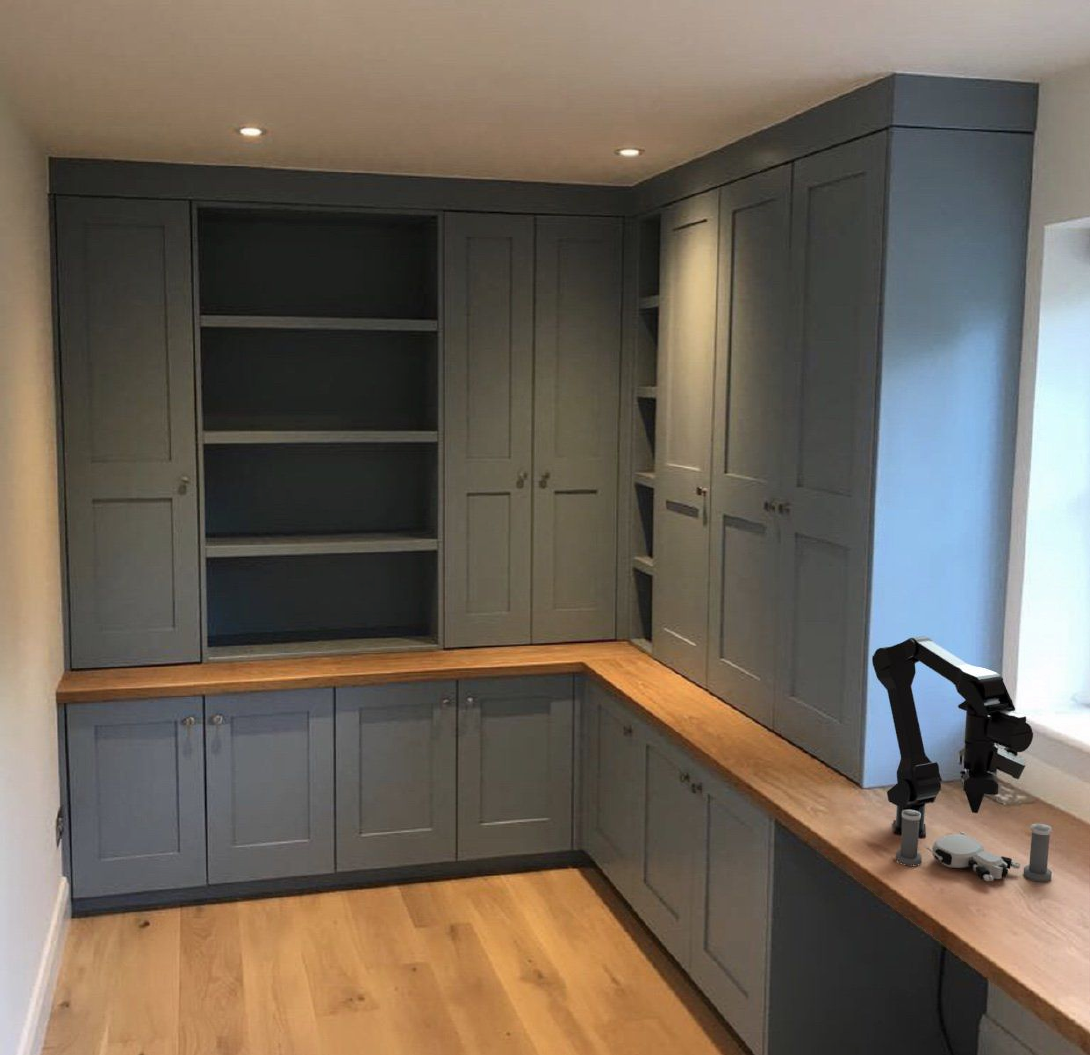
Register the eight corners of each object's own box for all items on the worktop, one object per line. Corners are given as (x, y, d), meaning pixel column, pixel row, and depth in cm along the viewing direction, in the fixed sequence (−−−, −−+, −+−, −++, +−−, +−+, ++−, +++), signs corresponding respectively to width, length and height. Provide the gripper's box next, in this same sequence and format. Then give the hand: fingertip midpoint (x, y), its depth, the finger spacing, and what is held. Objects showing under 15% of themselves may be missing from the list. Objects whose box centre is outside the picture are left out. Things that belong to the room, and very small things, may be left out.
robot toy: (1022, 878, 241) (955, 847, 252) (1026, 857, 240) (958, 826, 251) (987, 895, 233) (919, 862, 245) (990, 873, 232) (922, 841, 244)
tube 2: (1022, 869, 242) (1026, 821, 241) (1049, 872, 241) (1053, 824, 239) (1024, 880, 238) (1028, 830, 236) (1052, 883, 236) (1057, 834, 235)
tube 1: (895, 854, 249) (898, 807, 247) (921, 857, 247) (924, 809, 246) (895, 864, 244) (898, 816, 242) (921, 867, 242) (925, 819, 241)
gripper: (1029, 756, 230) (1023, 835, 233) (1019, 725, 248) (1013, 799, 250) (966, 750, 233) (961, 828, 235) (960, 720, 251) (955, 793, 253)
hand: (974, 812), depth 244 cm, fingers closed
